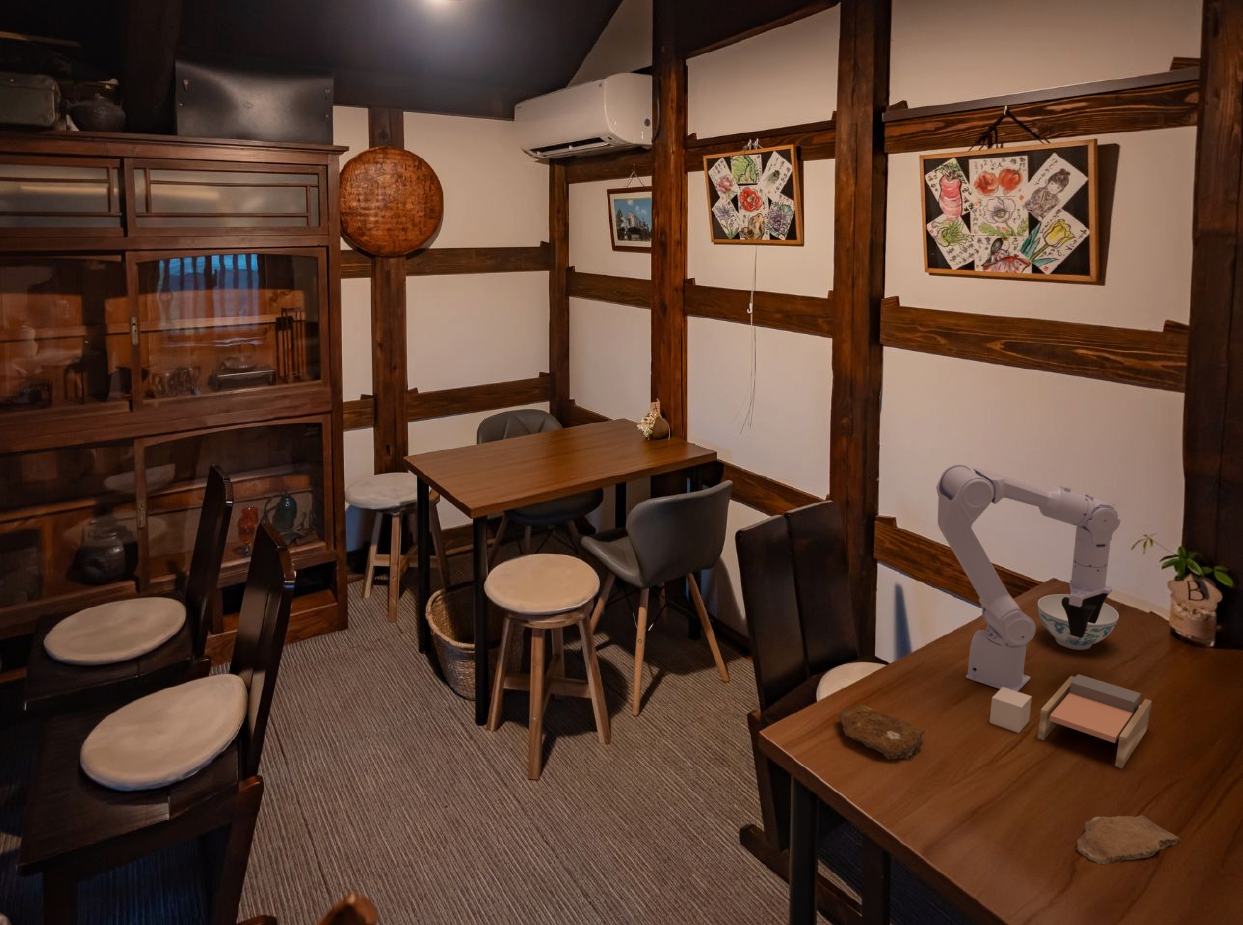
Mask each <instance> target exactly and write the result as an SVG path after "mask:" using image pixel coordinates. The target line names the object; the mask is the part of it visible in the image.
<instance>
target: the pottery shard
mask: <svg viewBox="0 0 1243 925" xmlns="http://www.w3.org/2000/svg"><path fill="white" fill-rule="evenodd" d="M1083 829H1084V831H1083V832H1084V833H1083V834H1082V835H1081V836H1079V837H1078V838H1077V839H1076V851H1077V852H1078V853H1080V854H1081V855H1082V856H1083V857H1085V858H1087V859H1088V860H1090V861H1093V862H1095V863H1096V864H1097V865H1106V864H1109V863H1115V862H1122V861H1129V860H1131V861H1132V860H1139V859H1145V858H1150V857H1152V856H1154V855H1155V854H1156V853H1157V852H1158V851H1161V850H1164V849H1165V848H1168V847H1169V846H1175V845H1177V844H1179V843H1178V842H1180V841H1181V838H1180V837H1179V836H1177V835H1176V834H1174V833H1173V832H1170V831H1168V830H1166V829H1164V828H1162V827H1161V826H1159V825H1157V824H1156V823H1154V822H1153V821H1151V820H1150V819H1148V818H1147V817H1146V816H1145V815H1142V814H1141V815H1137V816H1133V815H1124V816H1122V815H1117V816H1095V817H1092V818H1091V819H1090V820H1088V821H1084V824H1083Z"/></svg>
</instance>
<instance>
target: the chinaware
mask: <svg viewBox="0 0 1243 925" xmlns="http://www.w3.org/2000/svg"><path fill="white" fill-rule="evenodd" d="M1064 597H1068V598H1070V594H1068V593H1067V594H1065V593H1060V594H1058V593H1057V594H1055V593H1054V594H1049V595H1045V596H1042V597H1040V598H1039V599H1038V601H1037V611H1038V615H1039V619H1040V621H1041V623H1042V625H1043V627H1044V628H1045V629H1046V630H1047V632H1048V633H1049V634H1050V635H1051V636H1053V637H1054V638H1055V641H1056V643H1057V644H1058V645H1060V646H1063V647H1065V648H1068V649H1072V650H1079V651H1080V650H1088V649H1090V648H1091V647H1092V645H1093V644H1097V643H1099V642H1101V641H1103V640H1104V639H1105V638H1106V637H1108V636H1109V635H1110V634H1111V633H1112V631H1113V630H1114V629H1115V626H1116V625H1117V622H1118V620H1119V616H1120V615H1119V612H1118V611H1117V610H1116V609H1115V608H1114V607H1113V606H1111V605H1109V604H1107V603H1106V602H1104V603H1103V605H1102V608H1101V611H1100V614H1099V617H1098V619H1097V621H1096V623H1095V624H1093V623H1089V622H1088V624H1087V628H1086V631H1085V634H1084V636H1083V637H1082V638H1080V637H1076V636H1072V635H1071V634H1070V630H1069V623H1068V618H1067V615H1066V612H1065V610H1064V608H1063V606H1062V603H1061V602H1062V599H1063V598H1064Z"/></svg>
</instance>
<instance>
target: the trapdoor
mask: <svg viewBox="0 0 1243 925" xmlns="http://www.w3.org/2000/svg"><path fill="white" fill-rule="evenodd" d="M1074 677H1075V678H1074V679H1073V681H1072V682H1071V685H1070V692H1069V694H1068V695H1067V696H1066V697H1065V698H1064V700H1063V701H1062V702H1061V703H1060V704H1059V705H1058V707H1057V708H1056V709H1055V710H1054V711H1053V712H1052V714H1051V715H1050V720H1049V721H1052V722H1055V723H1058V724H1057V725H1061V726H1064V727H1066V728H1070V729H1073V730H1076V731H1079V732H1082V733H1085V734H1087V735H1090V736H1094V737H1095V738H1098V739H1101V740H1105V741H1108V742H1110V743H1114V744H1115V743H1116V742H1117V741H1118V740H1119V736H1120V735H1121V733H1122V732H1123V730H1124V729H1125V727H1126V726H1127V724H1128V723H1129V722H1130V720H1131V719H1132V717H1133V716H1134V714H1135V713H1136V711H1137V710H1138V709H1139V705H1140V702H1141V694H1142V693H1140V692H1138V691H1134V690H1132V689H1130V688H1129V689H1128V688H1126V687H1125V688H1124V687H1121V686H1119V685H1115V684H1112V683H1109V682H1105V681H1102V680H1099V679H1095V678H1091V677H1089V676H1086V675H1085V676H1084V675H1082V674H1077V675H1076V676H1074Z"/></svg>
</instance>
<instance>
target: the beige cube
mask: <svg viewBox="0 0 1243 925" xmlns="http://www.w3.org/2000/svg"><path fill="white" fill-rule="evenodd" d="M1032 698H1033V696H1032V695H1029V694H1026V693H1024V692H1023V693H1022V692H1020V691H1018V692H1017V691H1014V690H1011V689H1008V688H1005V687H1002V688H1001V689H999V690H998V691H997V692H996V693H995V694H994V695H993V696H992V697H991V706H990V716H989V723H990V724H993V725H995V726H998V727H1000V728H1003V729H1007V730H1008V731H1012V732H1015V733H1018V734H1020V732H1021V731H1022V730H1023V729H1024V728H1025V726H1026V725H1027V724H1028V723H1029V722H1030V715H1031V707H1032Z"/></svg>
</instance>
